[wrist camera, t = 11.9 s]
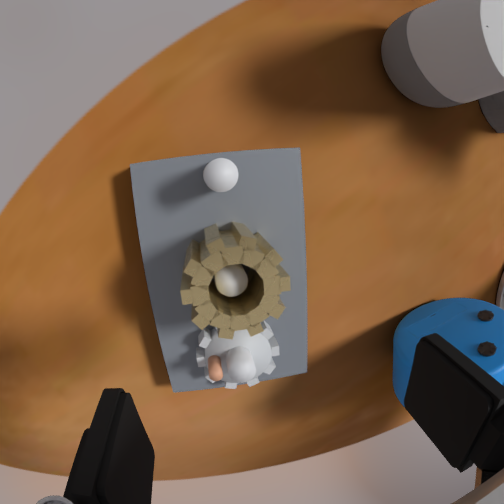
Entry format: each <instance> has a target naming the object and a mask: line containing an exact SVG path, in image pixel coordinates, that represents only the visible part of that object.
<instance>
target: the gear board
mask: <svg viewBox="0 0 504 504" xmlns="http://www.w3.org/2000/svg"><path fill="white" fill-rule="evenodd" d="M130 171H131V180H132V189H133V198H134V205H135V213H136V220H137V227H138V234H139V240H140V246H141V252H142V258H143V264H144V270H145V275H146V280H147V285H148V290H149V295H150V300H151V305H152V310H153V314H154V319H155V323H156V327H157V332H158V336H159V340H160V344H161V348H162V352H163V356H164V360H165V364H166V367H167V371H168V375H169V378H170V382H171V385H172V389H173V392H184V391H194V390H203V389H211V388H219V387H225V388H231V389H236V387H237V385H240V384H248V385H249V387H250V386H253V385H255V384H257V383H259V381H265V380H271V379H276V378H281V377H287V376H292V375H296V374H301V373H306V372H307V273H306V243H305V220H304V200H303V184H302V168H301V154H300V148H279V149H261V150H247V151H234V152H222V153H212V154H202V155H193V156H185V157H177V158H169V159H162V160H154V161H148V162H141V163H135V164H130ZM232 222H237V223H242V224H245V225H246V227H247V228H248V229H249V230H250V231H251V232H252V234H253V235H254V234H255V233H257V232H258V233H259V234H260V235H261V236H262V237H263V238H264V239H265V240H266V241H267V242H268V243H269V244H270V245H271V246H272V247H273V248H274V249H275V250H276V252H277V253H278V254H279V255H280V256H281V257H282V259H283V261H281V262H280V263H279V264H280V265H281V266H282V268H283V269H284V270H285V271H286V272H287V273H288V275H289V276H290V287H291V291H284V292H281V294H280V295H279V296H280V299H281V301H282V302H283V304H284V306H285V307H286V308H285V309H284V311H283V312H282V314H281V315H280V317H279V318H278V319H276V318H274V317H272V316H270V315H269V317H268V318H267V319H265V320H264V321H262V322H261V325H262V327H263V330H264V331H263V332H261V333H258V334H256V335H254V336H252V337H250V335H249V333H248V331H247V329H245V330H238V331H235V332H234V336H233V340H232V339H225V338H218V332H217V327H214V326H211V325H210V324H209V325H207V326H206V327H205V328H204V329H203V330H201V329H200V328H199V327H198V326H197V325H196V324H195V323H193V322H192V321H191V312H192V304H187V305H183V304H182V298H181V292H180V288H181V280H182V273H183V266H184V264H185V256H186V250H187V248H188V246H189V244H190V243H191V241H192V239H193V240H195V241H197V242H198V243H200V242H201V241H203V240H204V239H205V232H204V228H206V227H209V226H211V225H213V224H215V223H216V225H217V227H218V229H219V231H224V230H230V227H231V223H232ZM250 269H251V268H250V267H249V266H246V265H244V264H234V265H226V266H225V267H223V268H222V269H221V270H219V271H218V272H217V273H215V274H214V275H213V278H212V281H213V282H214V283H216V287H217V289H218V290H219V292H220V293H222V294H223V295H225V296H230V297H232V296H237V295H239V294H241V293H242V292H243V291H244V290H245V289H246V287H247V284H248V278H247V275H248V273H249V271H250Z"/></svg>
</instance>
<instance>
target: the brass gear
mask: <svg viewBox="0 0 504 504" xmlns="http://www.w3.org/2000/svg"><path fill="white" fill-rule="evenodd" d="M204 232H205V239H204V240H203V241H201V242H200V243H198V242H197V241H195V240H193V239H192V241H191V243H190V244H189V246H188V248H187V250H186V256H185V264H184V266H183V273H182V280H181V288H180V292H181V298H182V304H183V305H187V304H192V312H191V321H192V322H193V323H195V324H196V325H197V326H198V327H199V328H200V329H201V330H203V329H204V328H205V327H206V326H207V325H209V324H210V325H211V326H214V327H217V332H218V338H225V339H232V340H233V336H234V332H235V331H238V330H245V329H247V331H248V333H249V335H250V337H252V336H254V335H256V334H258V333H261V332H263V331H264V330H263V327H262V325H261V322H262V321H264V320H265V319H267V318H268V317H269V315H270V316H272V317H274V318H276V319H278V318H279V317H280V315H281V314H282V312H283V311H284V309H285V308H286V307H285V306H284V304H283V302H282V301H281V299H280V296H279V295H280V294H281V292H284V291H291V287H290V276H289V275H288V273H287V272H286V271H285V270H284V269H283V268H282V266H281V265H280V264H279V263H280V262H281V261H283V259H282V257H281V256H280V255H279V254H278V253H277V252H276V250H275V249H274V248H273V247H272V246H271V245H270V244H269V243H268V242H267V241H266V240H265V239H264V238H263V237H262V236H261V235H260V234H259V233H258V232H257V233H255V234H254V235H253V234H252V232H251V231H250V230H249V229H248V228H247V227H246V225H245V224H242V223H237V222H232V223H231V227H230V230H224V231H219V229H218V227H217V225H216V223H215V224H213V225H211V226H209V227H206V228H204ZM234 264H244V265H246V266H249V267H250V268H251V269H250V271H249V273H248V275H247V278H248V284H247V287H246V289H245V290H244V291H243V292H242V293H241V294H239V295H237V296H232V297H230V296H225V295H223V294H222V293H220V292H219V290H218V289H217V287H216V283H214V282H213V281H212V278H213V275H214V274H215V273H217V272H218V271H219V270H221V269H222V268H223V267H225V266H226V265H234Z"/></svg>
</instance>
